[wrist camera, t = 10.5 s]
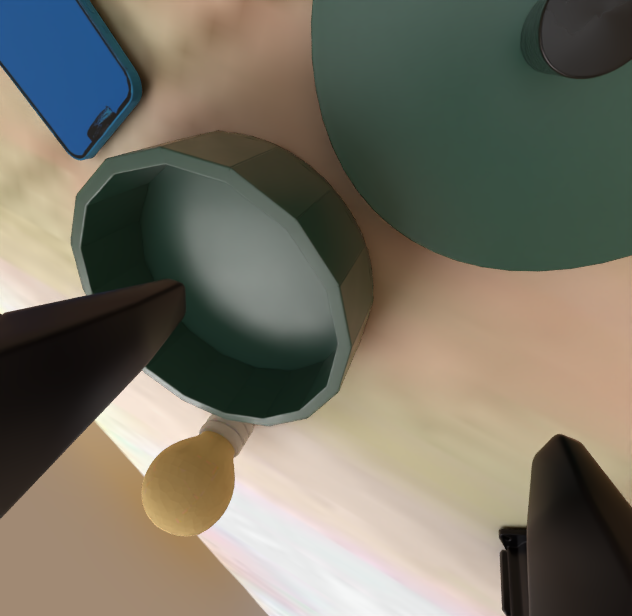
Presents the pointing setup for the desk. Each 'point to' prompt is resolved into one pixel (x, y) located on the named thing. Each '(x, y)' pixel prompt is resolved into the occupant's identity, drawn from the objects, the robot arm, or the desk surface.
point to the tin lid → (485, 123)
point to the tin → (233, 270)
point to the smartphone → (68, 70)
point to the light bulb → (194, 478)
